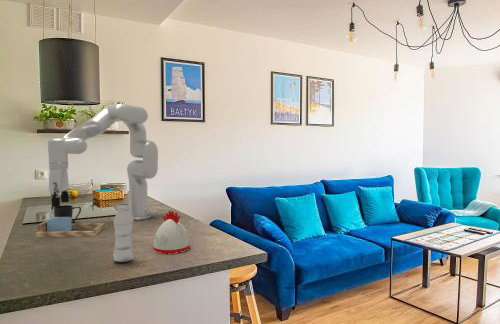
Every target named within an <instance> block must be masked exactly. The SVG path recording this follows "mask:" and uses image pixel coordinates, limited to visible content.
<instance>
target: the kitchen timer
mask: <svg viewBox="0 0 500 324" xmlns="http://www.w3.org/2000/svg"><path fill="white" fill-rule="evenodd" d="M162 217H163V220H164V221H163V222H162V223H161V225H160V226H159V227H158V229H157V230H156V233H155V235H154V240H153V242H152V243H153V244H152V249H153V250H155V251H157V252H161V253H176V252H181V251H184V250H187V249H188V248H189V249H190V240H189V237H188V230H187V229H186V228H185V227H184V226H183V224H182V223H181V222H179V220H180V218H181V216H180V215H178V212H176V211H175V212H174V211H172V210H169V211H168V212H166V213H165V215H162ZM189 249H188V250H189ZM188 250H187V251H188Z"/></svg>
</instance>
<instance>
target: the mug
mask: <svg viewBox="0 0 500 324" xmlns="http://www.w3.org/2000/svg"><path fill="white" fill-rule="evenodd" d="M74 209H79V210H78V213H77V215H76V216H75V218H74V219H73V212H74V211H73V210H74ZM81 212H82V208H81V206H75V207H73V205H68V204H67V205H66V204H65V205H61V204H60V206H59V207H53V215H54V216H53V217H71V218H72V219H73V220H72V224H75V222H76V220H77V219H78V217H79V216H80V214H81Z"/></svg>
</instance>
